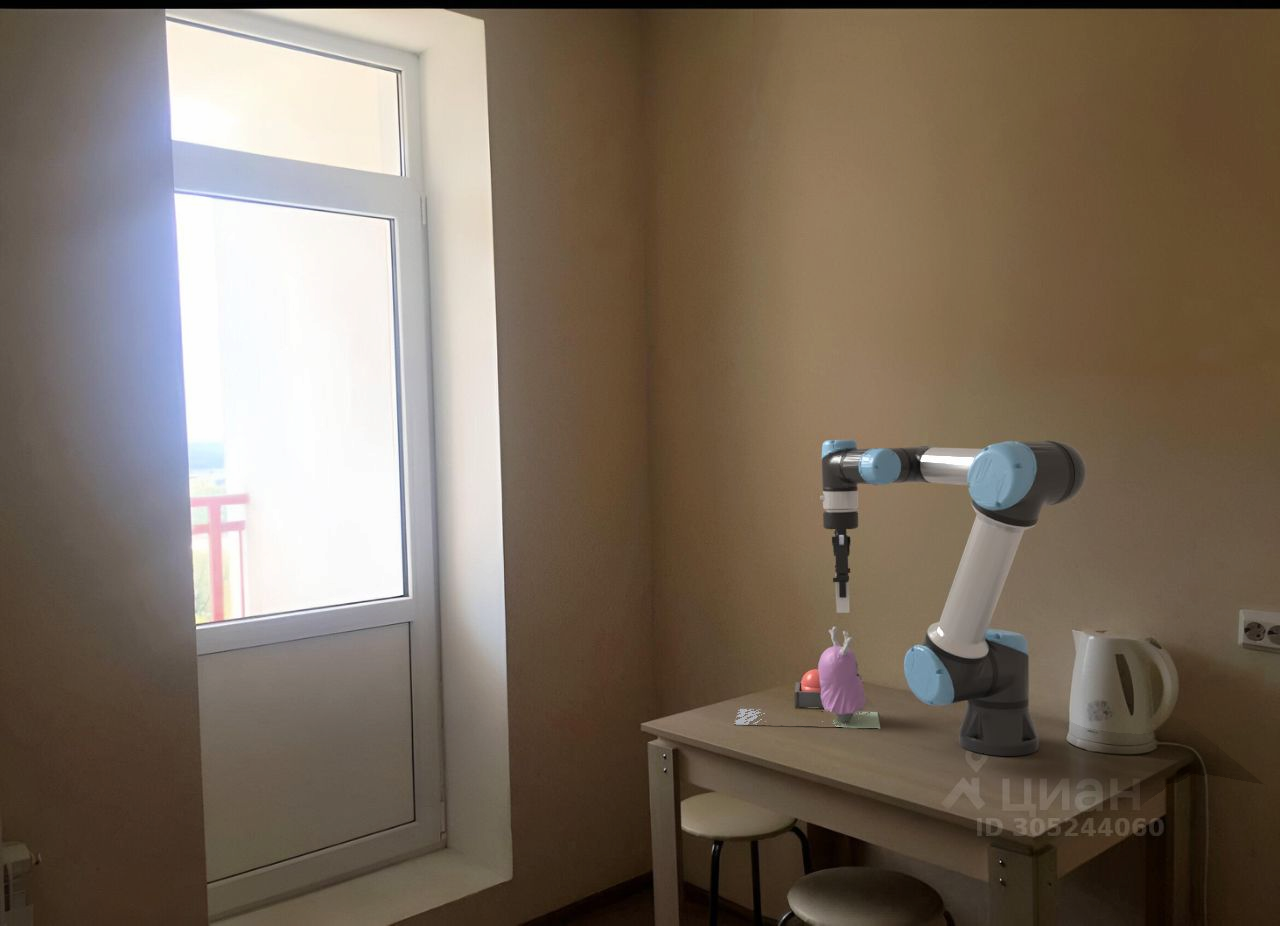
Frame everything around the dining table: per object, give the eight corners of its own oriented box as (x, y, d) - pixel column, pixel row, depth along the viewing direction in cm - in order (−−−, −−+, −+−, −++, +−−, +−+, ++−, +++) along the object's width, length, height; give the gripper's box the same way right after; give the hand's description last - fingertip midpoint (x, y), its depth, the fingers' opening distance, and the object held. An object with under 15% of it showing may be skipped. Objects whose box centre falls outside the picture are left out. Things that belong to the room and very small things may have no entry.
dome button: (832, 703, 242) (831, 673, 242) (801, 702, 244) (800, 672, 243) (831, 696, 249) (831, 666, 249) (801, 695, 250) (801, 666, 250)
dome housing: (838, 709, 241) (838, 692, 241) (794, 708, 242) (794, 692, 242) (837, 698, 250) (837, 682, 250) (796, 697, 252) (795, 682, 252)
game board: (880, 729, 224) (880, 728, 224) (734, 725, 229) (734, 724, 229) (877, 712, 237) (877, 712, 237) (739, 709, 242) (739, 708, 242)
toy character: (873, 725, 225) (869, 632, 225) (825, 727, 225) (820, 634, 225) (862, 710, 237) (858, 622, 237) (816, 712, 238) (812, 624, 237)
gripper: (823, 506, 243) (825, 598, 244) (822, 514, 219) (825, 616, 219) (856, 506, 242) (858, 598, 242) (859, 514, 217) (862, 617, 218)
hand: (842, 607), depth 231 cm, fingers open, 13 cm apart
